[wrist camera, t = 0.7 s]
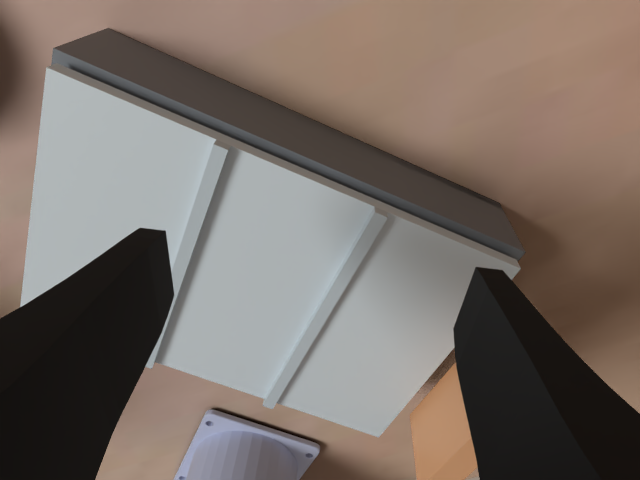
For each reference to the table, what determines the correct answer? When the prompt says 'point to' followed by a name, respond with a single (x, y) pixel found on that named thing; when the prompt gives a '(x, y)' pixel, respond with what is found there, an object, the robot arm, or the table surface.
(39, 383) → the robot arm
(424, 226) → the lid
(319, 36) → the table surface
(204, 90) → the tub
